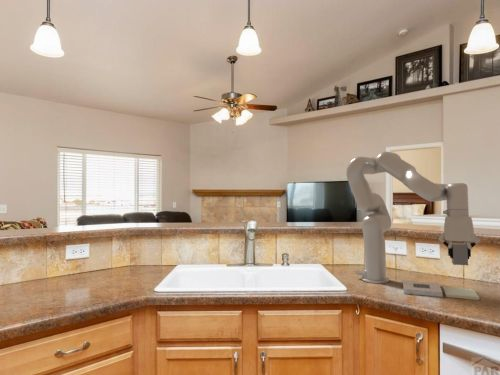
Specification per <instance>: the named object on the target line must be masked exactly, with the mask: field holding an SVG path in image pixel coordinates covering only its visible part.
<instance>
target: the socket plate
mask: <svg viewBox="0 0 500 375" xmlns="http://www.w3.org/2000/svg"><path fill="white" fill-rule="evenodd" d="M402 287H403V289H402V290H403V294H404V295H414V296H424V297H437V298H443V289H442V288H441V286H440V284H439V282H429V281H428V282H426V281H425V282H424V281H416V280H402Z"/></svg>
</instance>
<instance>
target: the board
mask: <svg viewBox="0 0 500 375" xmlns="http://www.w3.org/2000/svg"><path fill="white" fill-rule="evenodd" d="M442 291H443V292H444V294H445V297H446V298H452V299H453V298H455V299H463V300H464V299H465V300H474V301H475V300H476V301H480V296H479V294H478V293H477V292H476V291H475V290H474V288H466V287H455V286H454V287H453V286H442Z"/></svg>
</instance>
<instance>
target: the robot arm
mask: <svg viewBox="0 0 500 375" xmlns="http://www.w3.org/2000/svg"><path fill="white" fill-rule="evenodd" d="M345 173H346V174H345V175H346V179H347V182H348V184H349V187H350V189H351V192H352V195H353V198H354V201H355V203H356V207H357V208H358V210H359V211H360V212H363V213H368V215H366V216H365V217H364V218H363V220H362V222H361V230H362V235H363V251H364V252H363V253H364V254H363V255H364V269H362V270H355V272H354V274H355V275H357V276H361V281H363V282H365V283H369V284H388V283H389V282H391V281H390V280H391V278H389V277H387V269H386V268H387V266H386V265H387V262H386V260H387V259H386V242H385V237H384V236H385V235H384V233H385V232H388V231H389V230H390V229H391V228H392V219H391V215H390V212H389V211H388V209H387V205H386V203H385V200H384V199H383V197H382V196H381V194H379V193H376V192H372V189H371V187H370V184H369V182H368V181H367V179H366V178H365V175H375V174H380V173H387V174H389V175H390V176H391V177H393V178H394V179H396V180H398V181H399V182H401V183H402V184H403V185H404V186H405V187H406V188H407V189H408V190H410V191H412V192H413V193H414V194H416V195H418V196H419V197H421V199H424V200H426V202H427V201H428V202H442V201H446V209H445V210H443V211H442V215H446V216H445V217H444V225H443V232H442V234H441V235H440V236H439V237H438V239H437V240H438V241H439V242H440V243H442V244H443V245H444V246H445V247H447V254H448V255H447V256H449V258H450V259H452V258H453V249H452V247H451V246H452V243H465V244H466V245H467V249H468V260H470V258H471V257H472V256H471V255H472V252H471V251H472V249H473V248H474V247H475V246H476V245H477V244H478V243H481V239H480V238H479V237H478V236H477V235H476V234H475V230H474V224H473V218H472V216H469V215H470V212H469V211H470V210H469V193H468V192H469V190H468V184H466V183H464V182H463V183H462V182H454V183H452V182H451V183H446V184H445V183H437V182H432V181H431V180H429V179H427V178H426V177H424V176H423V175H422V174H420V173H419V172H418V171H417V168H416V167H415V166H414V165H412V164H411V163H409V162H407V161H405V160H403V159H402V158H401V156H400V155H399V154H398V153H395V152H392V151H381V152H380V153H379V154H378V155H377V156H373V157H367V156H357V157H354V158H352V159H351V160H350V161H349V162H348V165H347V167H346V172H345Z"/></svg>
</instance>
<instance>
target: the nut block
mask: <svg viewBox="0 0 500 375" xmlns="http://www.w3.org/2000/svg"><path fill="white" fill-rule="evenodd" d="M451 247H452V249H453V258H451V263H452V265H453V266H454V265H455V266H469V259H468V249H467V245H466V243H465V242H453V243H452V246H451Z"/></svg>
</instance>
